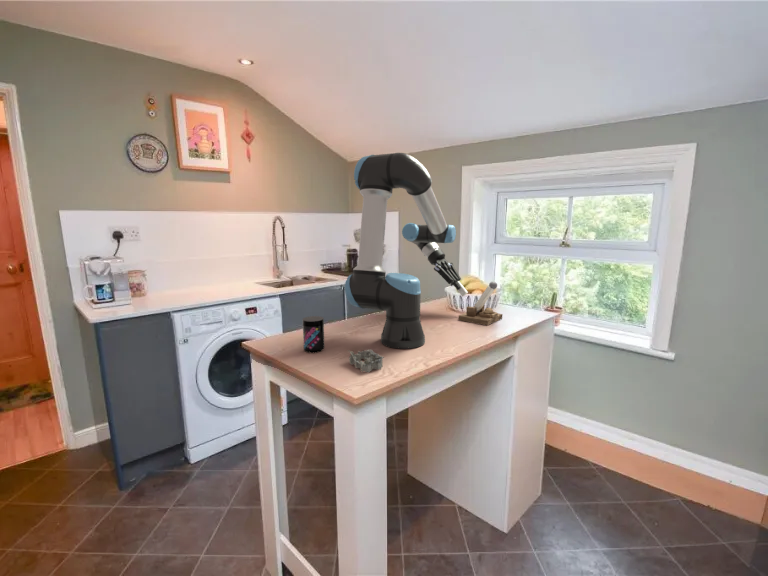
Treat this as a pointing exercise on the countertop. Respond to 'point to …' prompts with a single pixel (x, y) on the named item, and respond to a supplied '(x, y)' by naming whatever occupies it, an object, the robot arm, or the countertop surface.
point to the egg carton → (366, 360)
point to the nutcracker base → (479, 316)
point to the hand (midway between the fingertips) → (465, 294)
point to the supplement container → (313, 333)
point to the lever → (485, 296)
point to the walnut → (488, 311)
